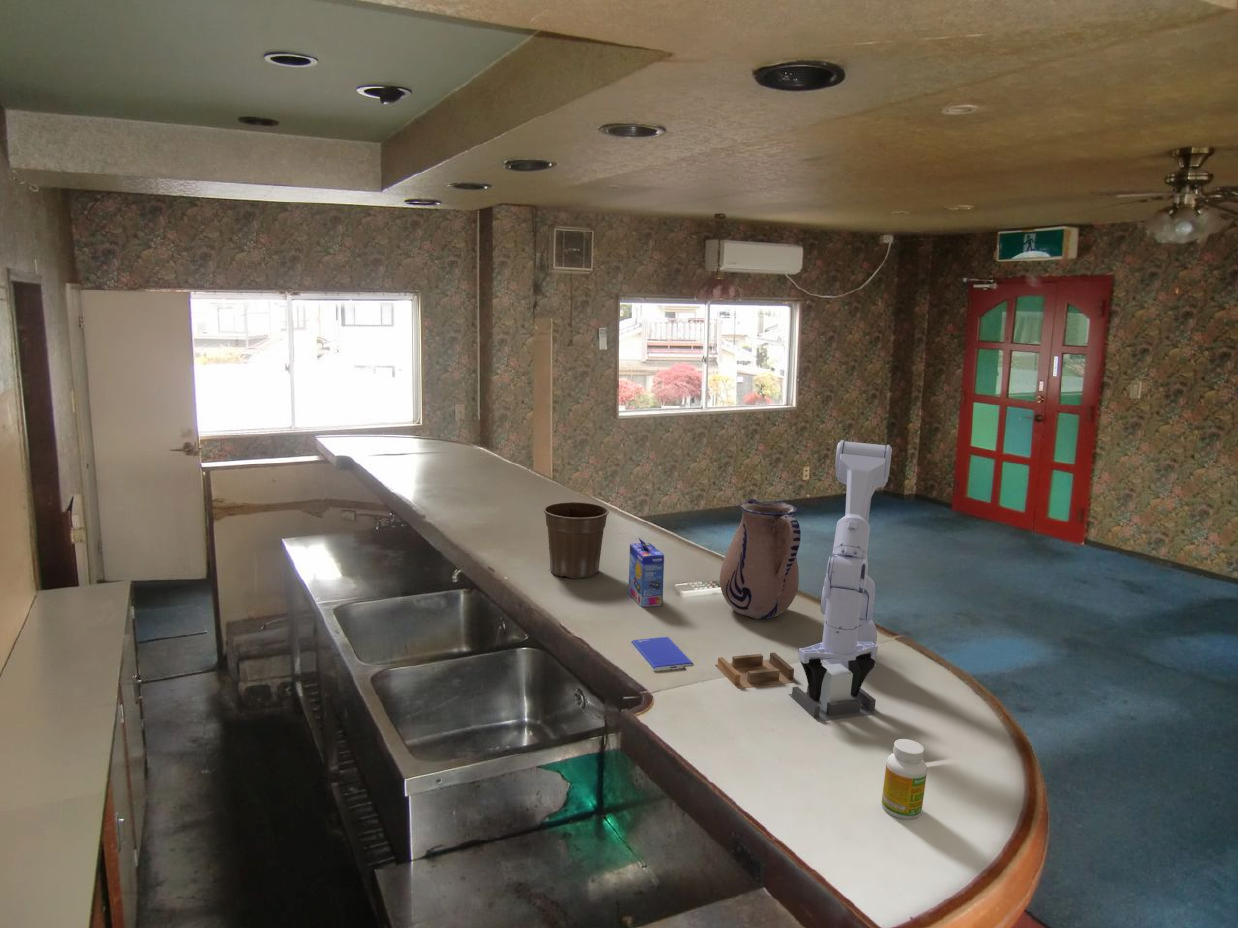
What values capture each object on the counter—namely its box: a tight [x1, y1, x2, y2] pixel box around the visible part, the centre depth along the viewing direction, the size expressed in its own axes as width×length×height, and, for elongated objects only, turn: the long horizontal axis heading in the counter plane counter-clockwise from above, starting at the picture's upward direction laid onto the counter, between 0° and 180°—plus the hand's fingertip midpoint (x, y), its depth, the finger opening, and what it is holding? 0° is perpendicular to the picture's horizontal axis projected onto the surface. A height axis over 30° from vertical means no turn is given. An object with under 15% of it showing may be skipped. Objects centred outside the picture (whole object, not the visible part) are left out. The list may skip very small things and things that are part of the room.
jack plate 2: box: [788, 685, 879, 723], centre depth 148 cm, size 12×10×2 cm
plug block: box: [819, 664, 853, 708], centre depth 147 cm, size 4×4×6 cm
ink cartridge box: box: [627, 537, 665, 608], centre depth 194 cm, size 10×6×14 cm, turn 18°
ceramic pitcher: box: [719, 498, 802, 620], centre depth 187 cm, size 18×21×25 cm
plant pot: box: [543, 501, 610, 579], centre depth 211 cm, size 16×16×16 cm
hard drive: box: [630, 636, 694, 672], centre depth 165 cm, size 2×8×12 cm
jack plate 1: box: [714, 652, 797, 690], centre depth 158 cm, size 12×10×2 cm
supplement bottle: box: [881, 738, 928, 820], centre depth 118 cm, size 5×5×10 cm
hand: (833, 696), depth 148 cm, fingers open, 7 cm apart
